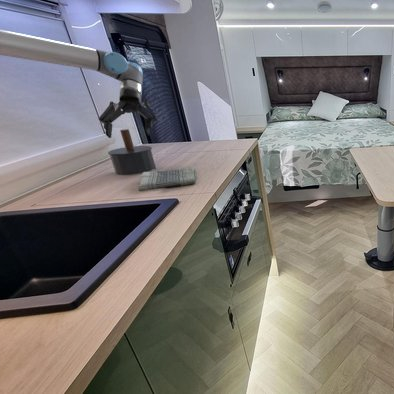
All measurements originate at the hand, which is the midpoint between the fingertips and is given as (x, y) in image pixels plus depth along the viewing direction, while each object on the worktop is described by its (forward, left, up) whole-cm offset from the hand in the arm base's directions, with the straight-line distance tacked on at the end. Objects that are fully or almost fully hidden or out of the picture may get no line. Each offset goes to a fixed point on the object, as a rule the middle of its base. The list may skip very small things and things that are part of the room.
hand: (128, 135), depth 117 cm
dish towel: (+20, -18, -15) cm, 31 cm away
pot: (0, -2, -15) cm, 15 cm away
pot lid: (0, -2, -6) cm, 6 cm away
